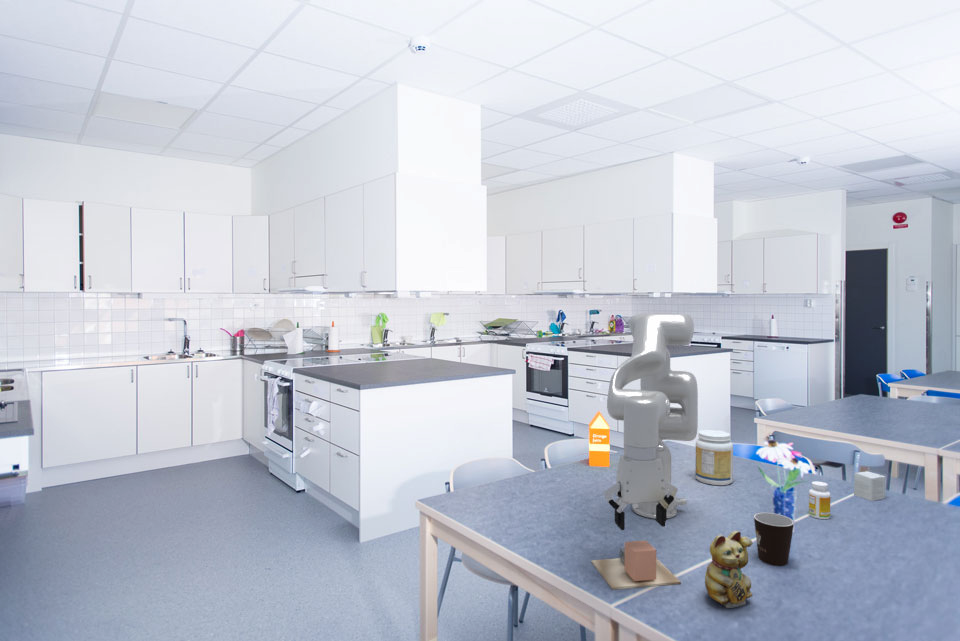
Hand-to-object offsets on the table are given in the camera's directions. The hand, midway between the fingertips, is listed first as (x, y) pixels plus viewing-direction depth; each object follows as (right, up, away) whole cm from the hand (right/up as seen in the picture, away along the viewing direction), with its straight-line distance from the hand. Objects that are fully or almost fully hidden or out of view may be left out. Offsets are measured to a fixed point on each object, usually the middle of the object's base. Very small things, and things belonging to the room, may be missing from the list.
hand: (640, 525), depth 127 cm
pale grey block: (+89, -10, +53) cm, 104 cm away
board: (-1, -12, +3) cm, 12 cm away
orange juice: (+10, -9, +91) cm, 92 cm away
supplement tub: (+46, -10, +70) cm, 84 cm away
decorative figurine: (+15, -12, -9) cm, 22 cm away
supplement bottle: (+63, -11, +37) cm, 74 cm away
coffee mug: (+36, -12, +10) cm, 39 cm away
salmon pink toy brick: (0, -11, 0) cm, 11 cm away
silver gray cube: (-1, -12, +7) cm, 14 cm away
